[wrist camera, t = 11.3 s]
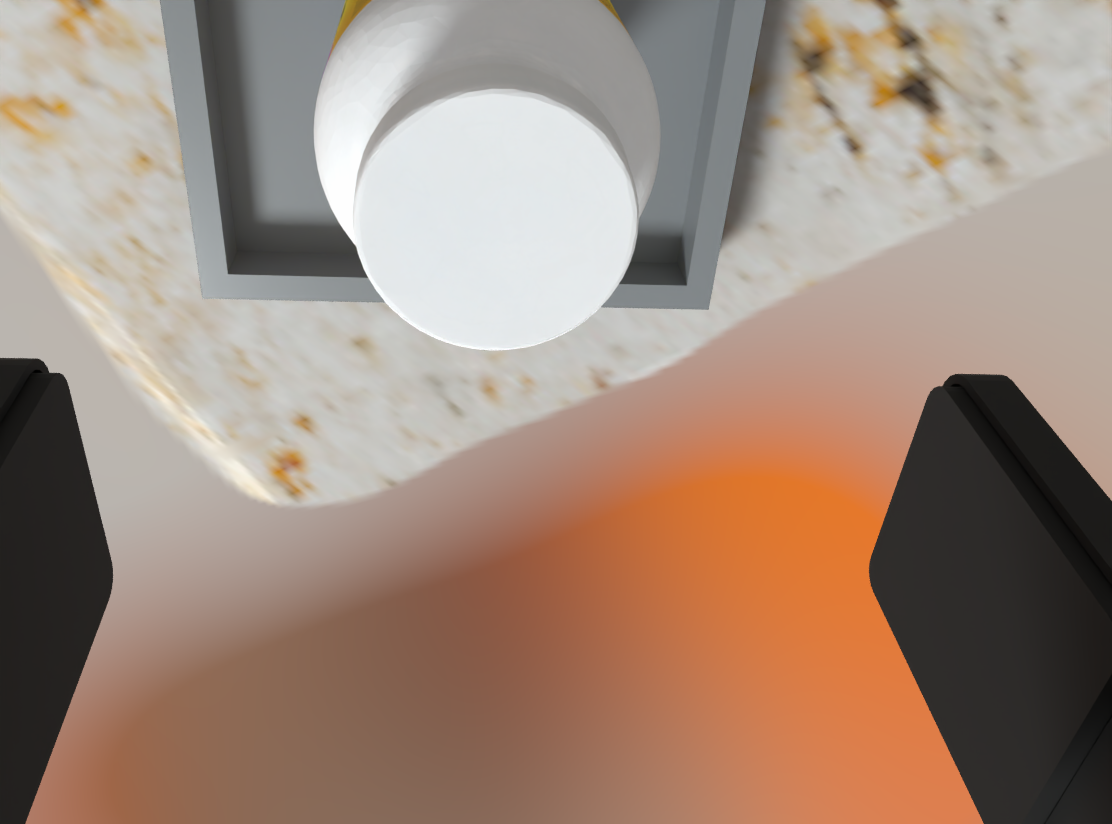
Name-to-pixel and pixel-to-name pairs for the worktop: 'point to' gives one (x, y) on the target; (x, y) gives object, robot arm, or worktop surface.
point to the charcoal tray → (293, 179)
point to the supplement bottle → (488, 160)
